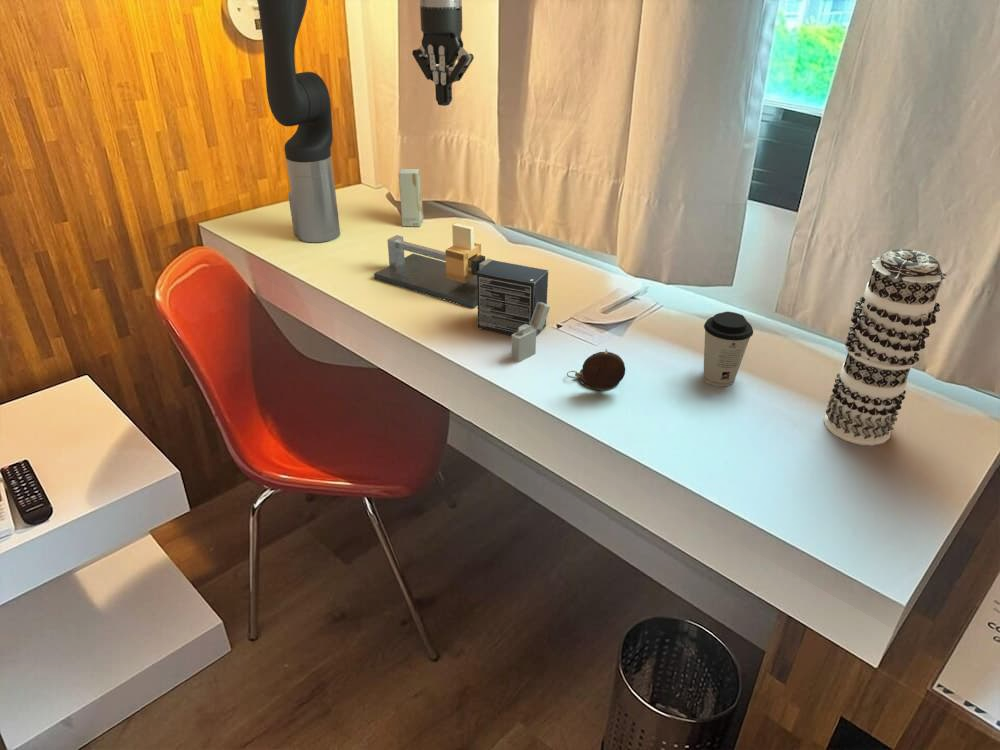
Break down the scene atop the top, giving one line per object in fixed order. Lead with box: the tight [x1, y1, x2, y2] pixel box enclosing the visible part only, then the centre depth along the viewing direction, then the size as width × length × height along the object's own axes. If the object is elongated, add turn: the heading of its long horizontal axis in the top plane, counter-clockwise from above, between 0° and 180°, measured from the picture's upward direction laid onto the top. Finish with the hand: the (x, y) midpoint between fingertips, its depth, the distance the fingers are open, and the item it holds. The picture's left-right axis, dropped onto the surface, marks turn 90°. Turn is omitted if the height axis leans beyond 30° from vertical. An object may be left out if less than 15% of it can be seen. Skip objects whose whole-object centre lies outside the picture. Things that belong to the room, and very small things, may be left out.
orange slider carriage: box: [445, 223, 482, 283], centre depth 132 cm, size 4×6×10 cm
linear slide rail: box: [373, 234, 493, 309], centre depth 137 cm, size 23×12×7 cm, turn 58°
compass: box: [566, 348, 626, 391], centre depth 107 cm, size 8×8×7 cm
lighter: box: [510, 302, 551, 363], centre depth 114 cm, size 7×2×8 cm, turn 135°
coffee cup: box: [702, 311, 754, 387], centre depth 107 cm, size 7×7×10 cm
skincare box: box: [398, 168, 424, 227], centre depth 163 cm, size 6×4×12 cm
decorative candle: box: [823, 248, 947, 447], centre depth 93 cm, size 9×9×25 cm
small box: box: [476, 259, 549, 337], centre depth 121 cm, size 11×6×10 cm, turn 65°
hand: (444, 104), depth 138 cm, fingers closed
